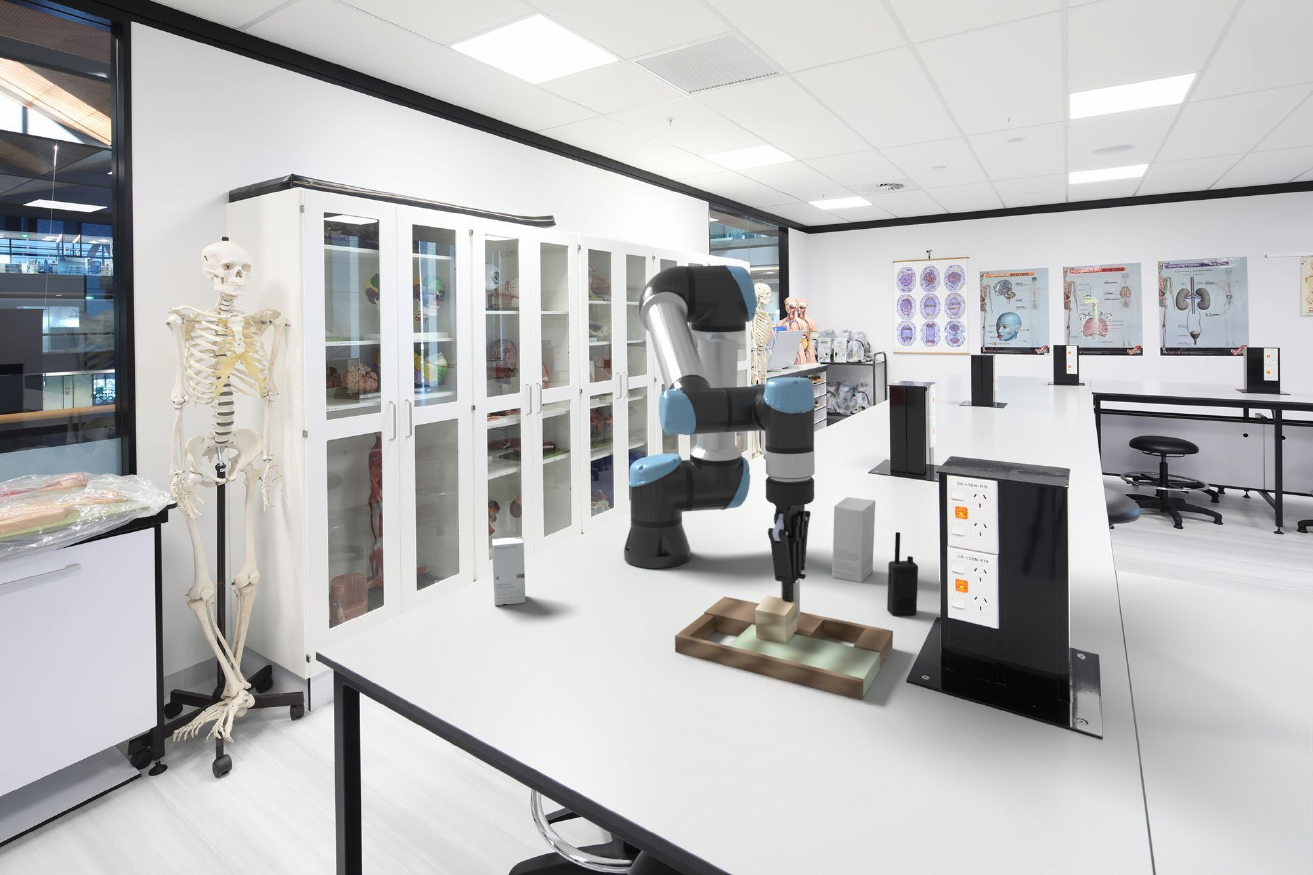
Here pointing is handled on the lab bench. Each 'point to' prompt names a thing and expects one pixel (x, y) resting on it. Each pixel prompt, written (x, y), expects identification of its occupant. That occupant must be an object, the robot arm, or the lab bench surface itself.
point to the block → (776, 619)
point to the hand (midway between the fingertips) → (790, 617)
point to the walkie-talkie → (902, 584)
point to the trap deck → (791, 648)
